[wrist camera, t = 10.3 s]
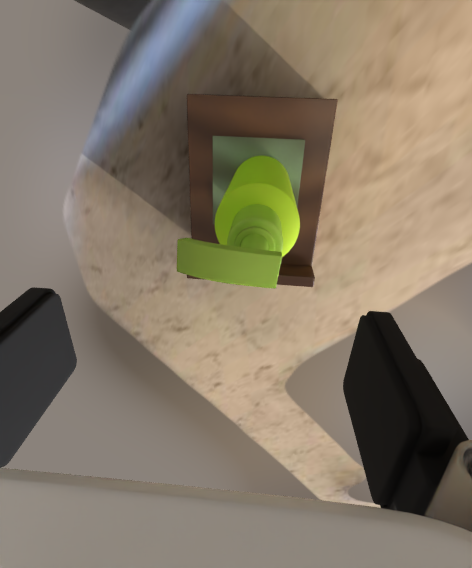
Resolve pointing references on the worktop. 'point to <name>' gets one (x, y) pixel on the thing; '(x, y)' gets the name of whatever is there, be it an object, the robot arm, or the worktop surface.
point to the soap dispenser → (247, 229)
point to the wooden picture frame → (260, 142)
